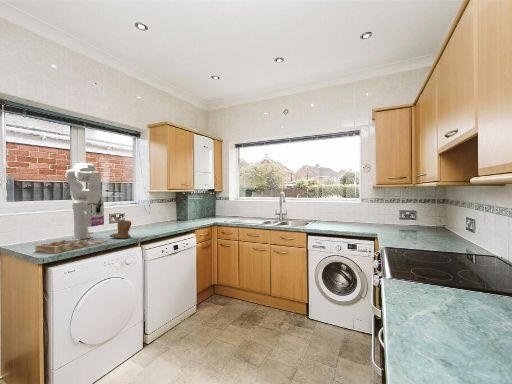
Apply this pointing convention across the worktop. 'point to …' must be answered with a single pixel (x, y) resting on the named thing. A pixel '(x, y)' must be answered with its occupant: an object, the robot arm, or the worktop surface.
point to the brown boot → (122, 229)
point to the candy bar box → (94, 215)
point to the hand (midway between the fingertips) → (95, 212)
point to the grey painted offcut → (72, 241)
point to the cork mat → (96, 242)
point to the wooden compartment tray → (59, 246)
